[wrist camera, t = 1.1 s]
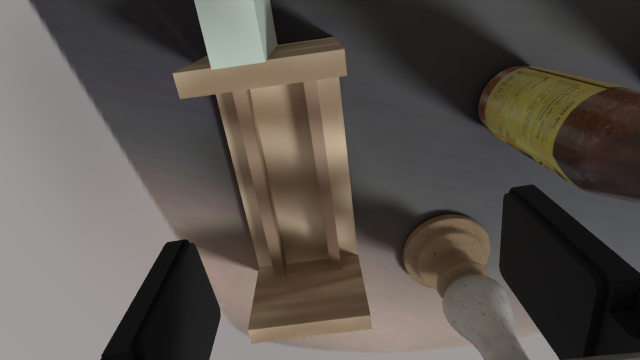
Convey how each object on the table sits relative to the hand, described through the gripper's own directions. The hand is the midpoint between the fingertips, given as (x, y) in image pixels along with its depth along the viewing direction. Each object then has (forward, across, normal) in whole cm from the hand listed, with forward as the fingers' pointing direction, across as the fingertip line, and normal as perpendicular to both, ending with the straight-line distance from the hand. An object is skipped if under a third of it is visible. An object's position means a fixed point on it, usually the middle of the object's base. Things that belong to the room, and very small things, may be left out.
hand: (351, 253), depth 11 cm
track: (+22, +4, +7) cm, 23 cm away
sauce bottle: (+22, -16, +4) cm, 28 cm away
